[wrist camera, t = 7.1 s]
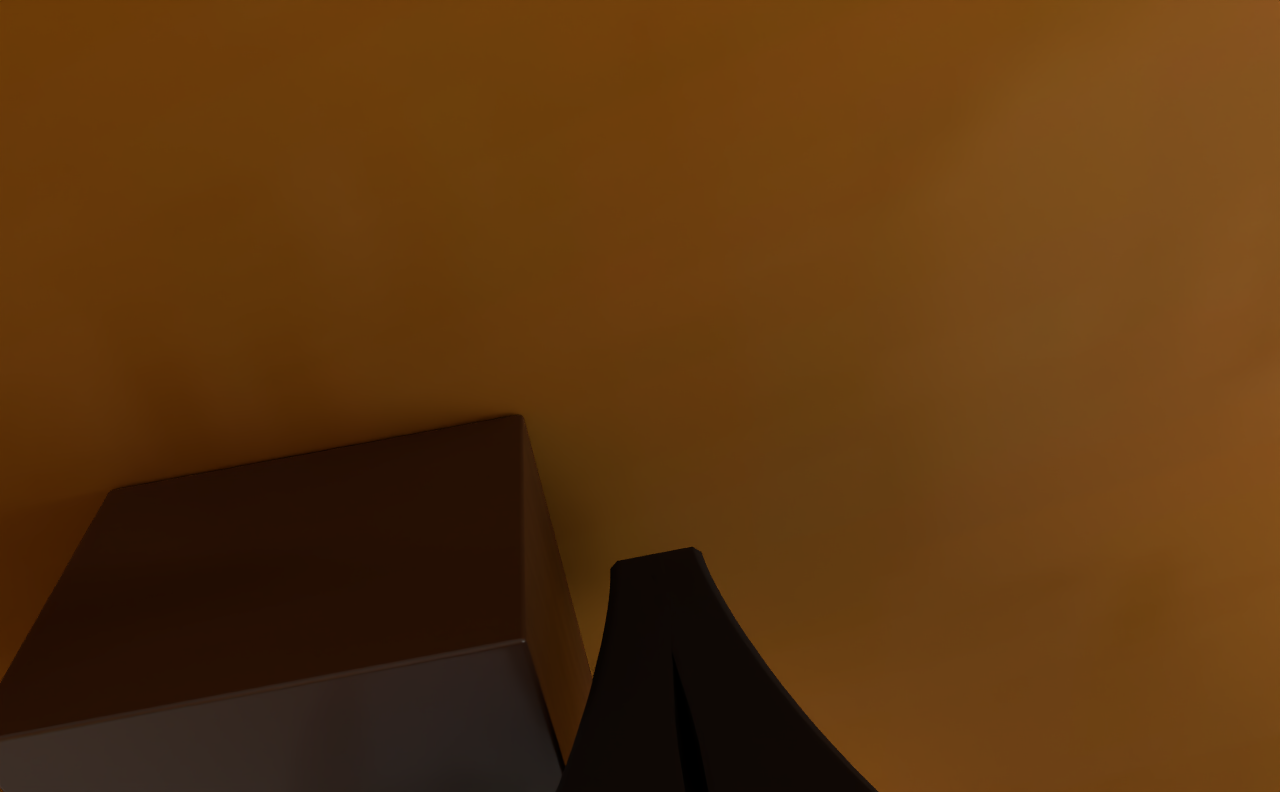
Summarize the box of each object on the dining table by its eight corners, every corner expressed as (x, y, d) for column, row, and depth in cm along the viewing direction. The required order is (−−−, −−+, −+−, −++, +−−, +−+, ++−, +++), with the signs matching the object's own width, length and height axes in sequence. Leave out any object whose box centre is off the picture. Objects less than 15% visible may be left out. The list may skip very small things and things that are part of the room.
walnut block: (595, 688, 16) (617, 936, 12) (260, 752, 16) (191, 1017, 12) (522, 412, 13) (524, 639, 9) (108, 489, 13) (-39, 745, 9)
